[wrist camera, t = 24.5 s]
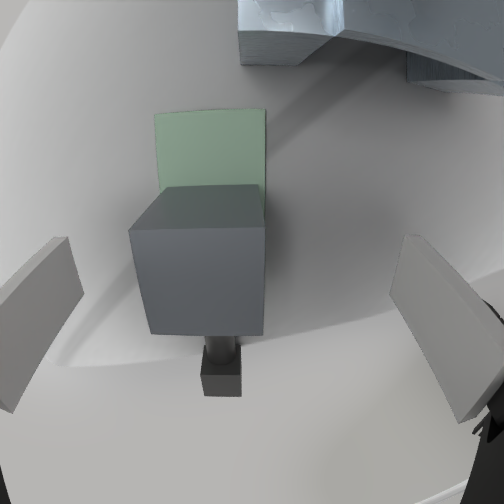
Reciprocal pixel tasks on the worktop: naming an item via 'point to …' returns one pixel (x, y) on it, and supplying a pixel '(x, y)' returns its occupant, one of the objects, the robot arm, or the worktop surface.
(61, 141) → the worktop surface
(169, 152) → the mat
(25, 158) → the worktop surface
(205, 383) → the plug
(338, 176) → the worktop surface
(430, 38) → the housing
